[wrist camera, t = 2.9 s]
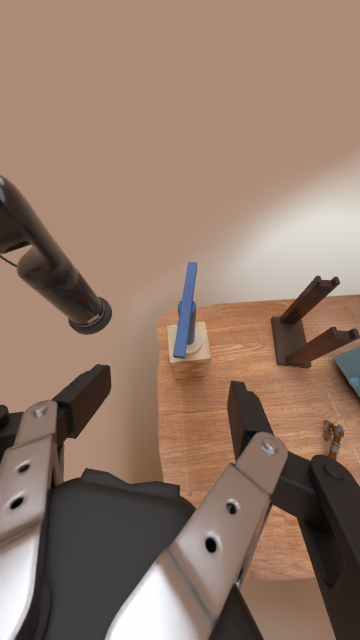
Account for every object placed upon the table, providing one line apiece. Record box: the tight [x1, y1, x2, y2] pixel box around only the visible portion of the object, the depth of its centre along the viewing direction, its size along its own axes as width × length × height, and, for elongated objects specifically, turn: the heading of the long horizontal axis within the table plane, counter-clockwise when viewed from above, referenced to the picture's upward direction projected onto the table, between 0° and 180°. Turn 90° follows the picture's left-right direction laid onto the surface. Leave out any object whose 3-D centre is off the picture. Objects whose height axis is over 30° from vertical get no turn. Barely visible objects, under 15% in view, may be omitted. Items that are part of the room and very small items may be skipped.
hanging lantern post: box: [323, 420, 345, 461], centre depth 34 cm, size 2×8×4 cm, turn 162°
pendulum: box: [173, 262, 203, 359], centre depth 26 cm, size 5×13×12 cm, turn 172°
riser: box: [167, 322, 212, 379], centre depth 38 cm, size 7×7×14 cm
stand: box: [271, 276, 360, 368], centre depth 38 cm, size 7×12×17 cm, turn 173°
